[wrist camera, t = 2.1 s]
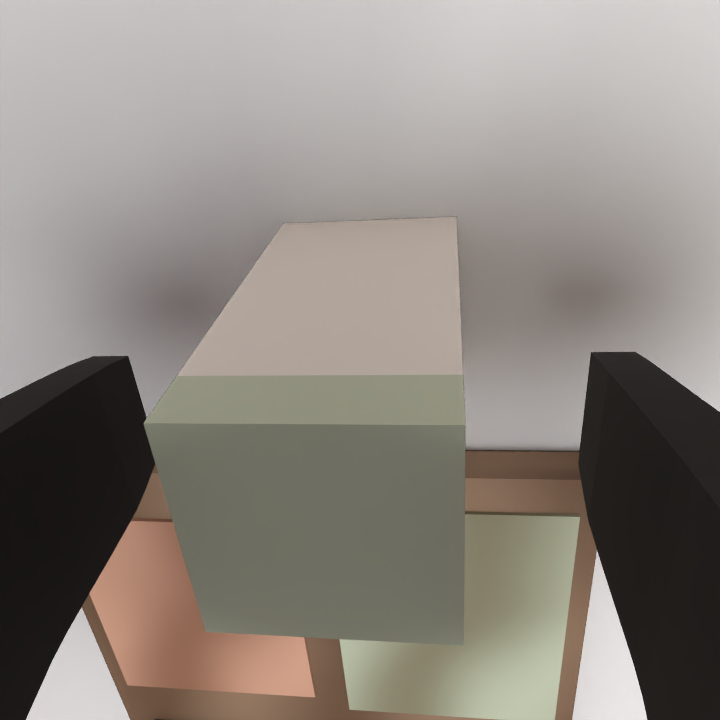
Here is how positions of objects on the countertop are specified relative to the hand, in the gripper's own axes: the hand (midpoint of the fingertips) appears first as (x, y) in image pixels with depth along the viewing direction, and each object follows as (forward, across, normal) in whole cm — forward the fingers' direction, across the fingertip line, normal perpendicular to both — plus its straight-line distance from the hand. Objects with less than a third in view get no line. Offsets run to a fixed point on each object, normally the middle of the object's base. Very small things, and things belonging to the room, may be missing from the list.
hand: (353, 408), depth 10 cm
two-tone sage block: (+4, 0, 0) cm, 4 cm away
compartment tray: (+4, +2, +12) cm, 13 cm away
